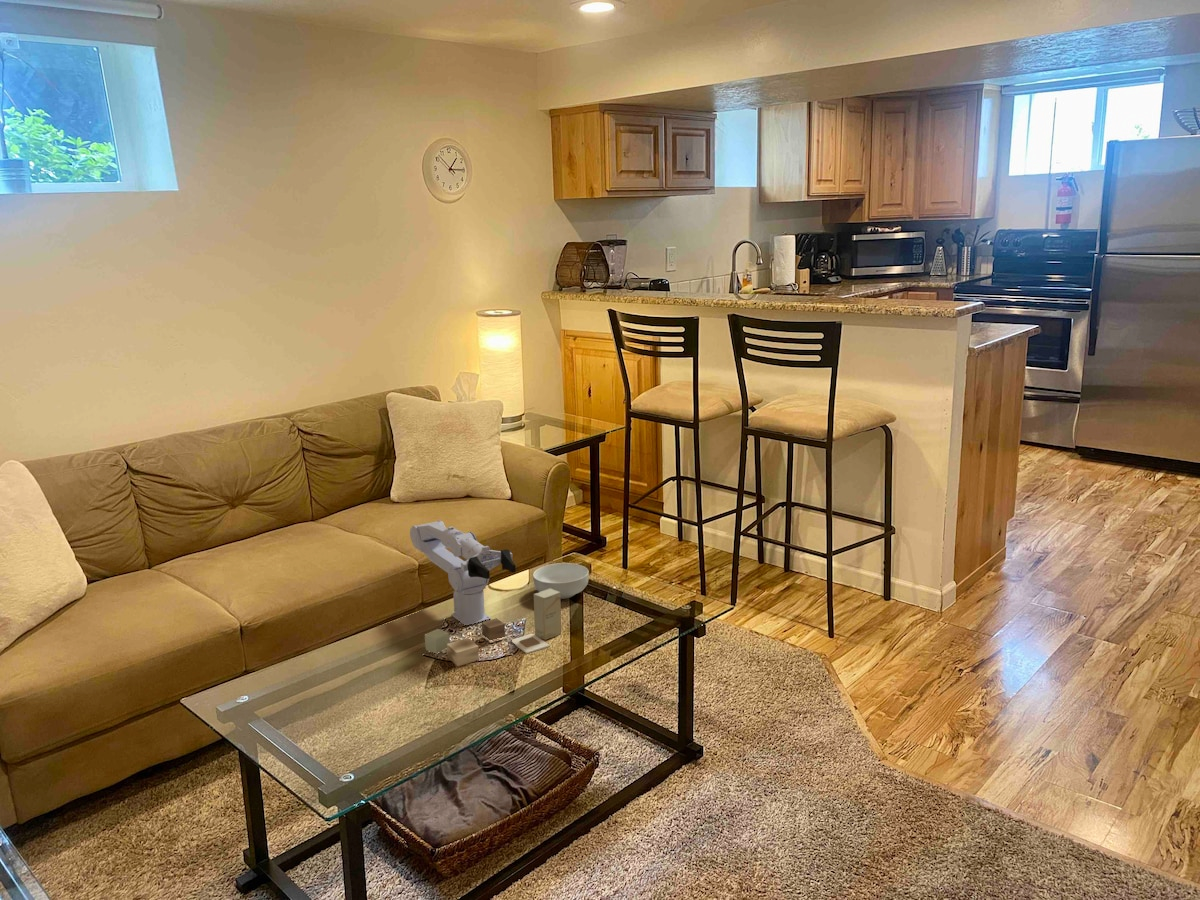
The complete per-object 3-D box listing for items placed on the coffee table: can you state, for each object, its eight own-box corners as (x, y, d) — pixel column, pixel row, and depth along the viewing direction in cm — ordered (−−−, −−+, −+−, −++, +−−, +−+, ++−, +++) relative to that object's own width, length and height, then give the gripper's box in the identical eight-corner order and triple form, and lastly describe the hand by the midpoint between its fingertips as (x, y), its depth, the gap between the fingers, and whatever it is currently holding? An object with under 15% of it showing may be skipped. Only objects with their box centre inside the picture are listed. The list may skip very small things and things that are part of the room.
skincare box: (544, 640, 237) (543, 598, 235) (534, 635, 241) (532, 594, 238) (562, 633, 242) (561, 591, 239) (551, 628, 245) (550, 587, 242)
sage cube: (425, 650, 234) (424, 634, 233) (439, 644, 237) (438, 628, 236) (436, 655, 231) (435, 639, 230) (450, 648, 234) (449, 633, 233)
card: (510, 641, 237) (509, 639, 237) (532, 634, 241) (532, 632, 241) (526, 653, 230) (526, 651, 230) (549, 646, 234) (549, 644, 234)
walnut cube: (482, 637, 240) (481, 622, 239) (497, 633, 243) (496, 618, 242) (490, 643, 237) (489, 628, 236) (505, 639, 239) (504, 623, 238)
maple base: (447, 658, 229) (446, 644, 228) (468, 652, 232) (468, 637, 231) (457, 667, 224) (456, 652, 223) (479, 660, 228) (478, 646, 227)
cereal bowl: (567, 579, 280) (566, 558, 279) (600, 594, 268) (600, 572, 266) (522, 593, 270) (521, 571, 268) (555, 610, 257) (554, 587, 256)
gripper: (453, 546, 237) (476, 563, 227) (501, 536, 245) (525, 552, 235) (453, 570, 239) (476, 588, 229) (501, 559, 247) (525, 576, 236)
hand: (501, 571), depth 232 cm, fingers open, 7 cm apart
